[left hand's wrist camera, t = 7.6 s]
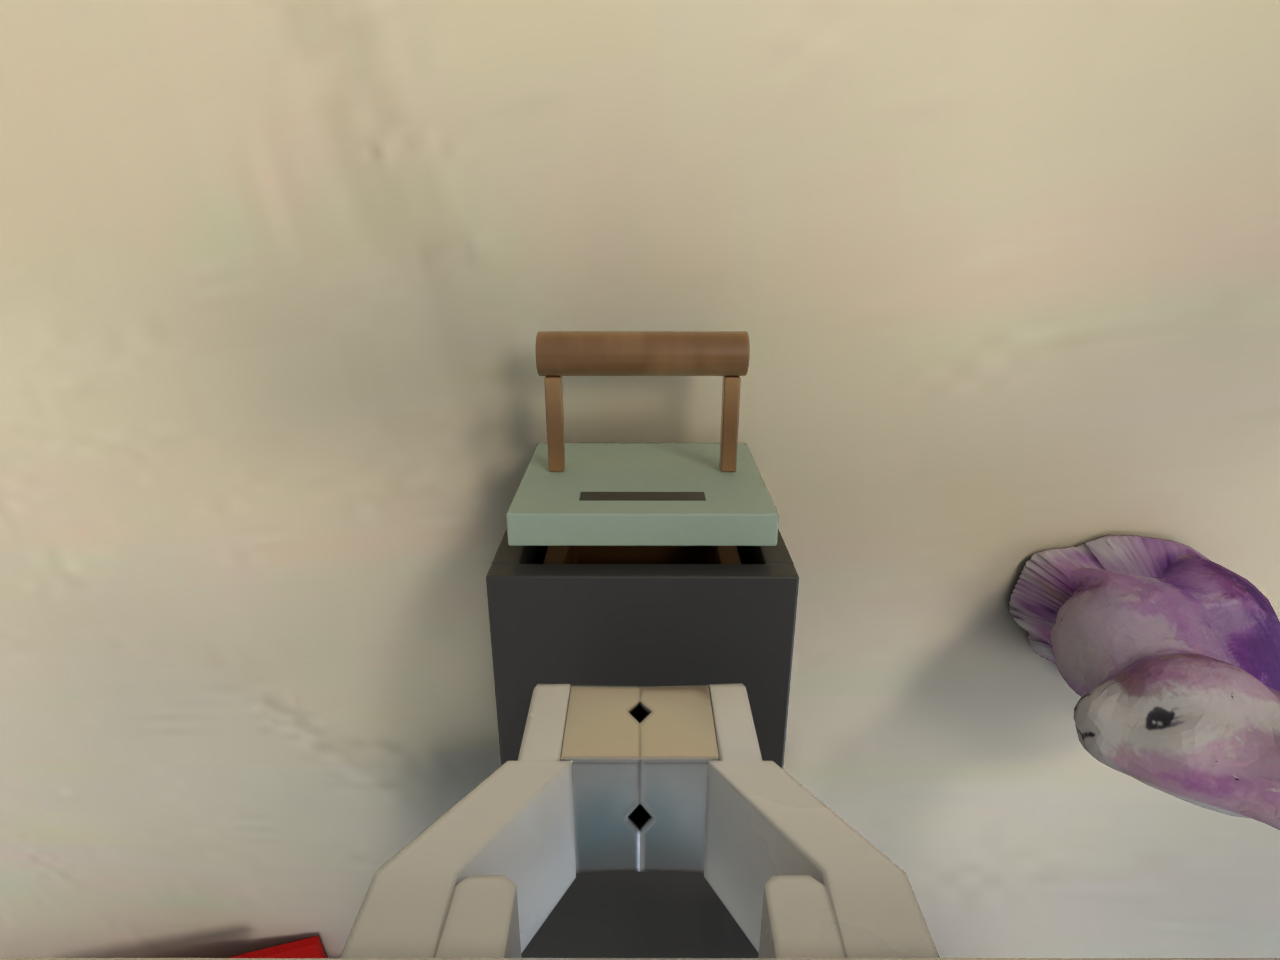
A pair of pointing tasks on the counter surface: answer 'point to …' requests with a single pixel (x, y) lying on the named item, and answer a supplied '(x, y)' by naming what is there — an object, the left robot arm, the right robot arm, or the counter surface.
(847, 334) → the counter surface
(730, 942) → the cabinet
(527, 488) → the drawer
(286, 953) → the toy
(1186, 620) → the figurine
